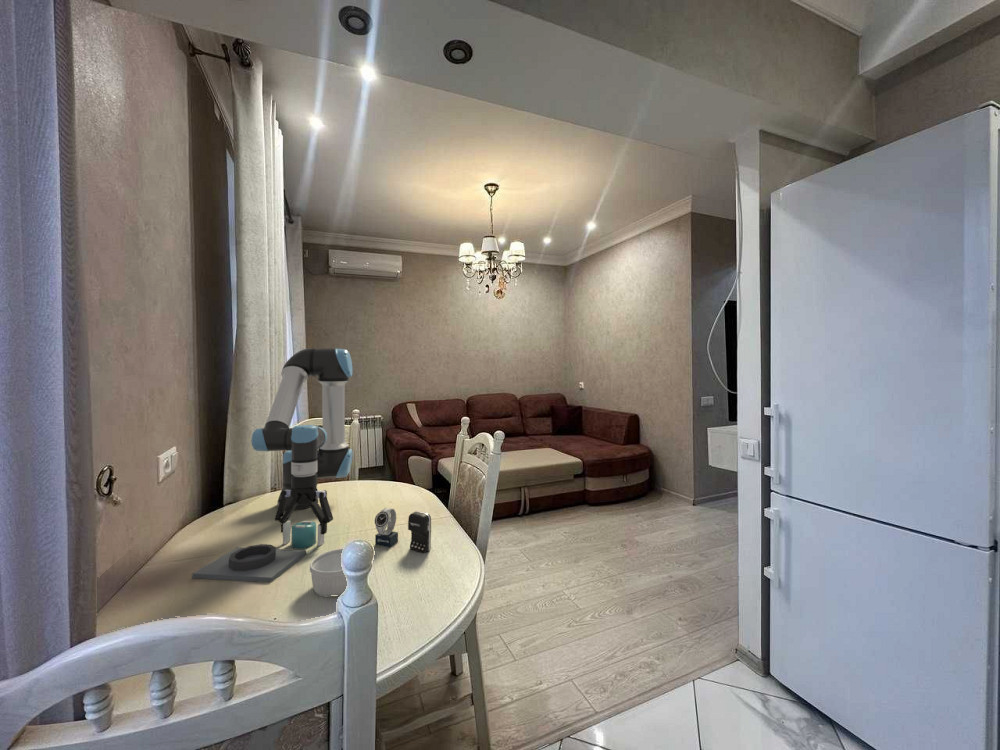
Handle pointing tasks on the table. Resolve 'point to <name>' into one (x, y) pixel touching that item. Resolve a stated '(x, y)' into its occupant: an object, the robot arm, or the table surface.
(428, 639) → the table surface
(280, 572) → the plate with oval ring
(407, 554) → the table surface
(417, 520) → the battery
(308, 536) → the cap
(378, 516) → the watch
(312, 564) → the ramekin
